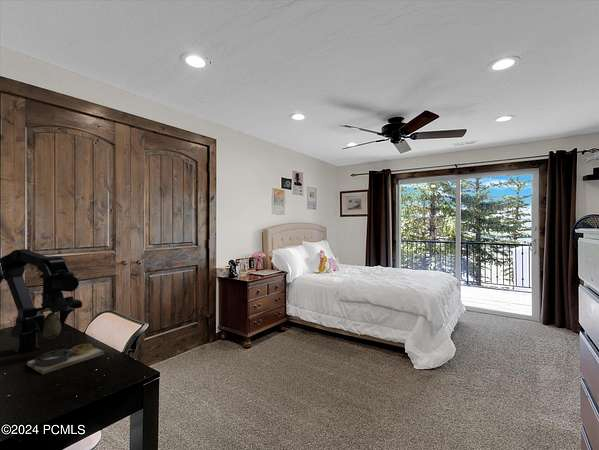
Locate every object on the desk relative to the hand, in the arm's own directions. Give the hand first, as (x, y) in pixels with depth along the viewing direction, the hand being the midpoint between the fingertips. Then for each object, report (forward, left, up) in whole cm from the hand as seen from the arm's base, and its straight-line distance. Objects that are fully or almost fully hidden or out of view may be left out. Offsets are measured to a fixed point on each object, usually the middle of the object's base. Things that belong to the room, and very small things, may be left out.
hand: (51, 330), depth 116 cm
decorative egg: (0, 0, -3) cm, 3 cm away
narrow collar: (+11, +6, -9) cm, 15 cm away
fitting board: (+11, +1, -9) cm, 14 cm away
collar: (+11, -3, -9) cm, 14 cm away
